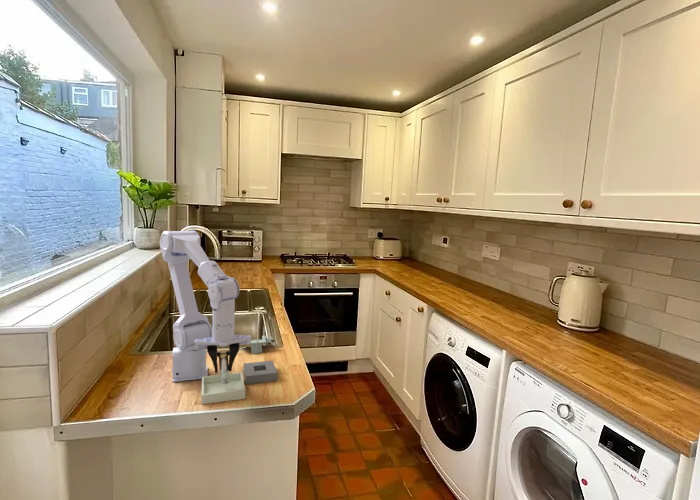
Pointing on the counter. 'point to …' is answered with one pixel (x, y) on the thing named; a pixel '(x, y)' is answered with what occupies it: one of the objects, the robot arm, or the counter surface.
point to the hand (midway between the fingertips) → (223, 370)
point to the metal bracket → (258, 344)
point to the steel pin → (223, 366)
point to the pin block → (259, 372)
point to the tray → (222, 388)
